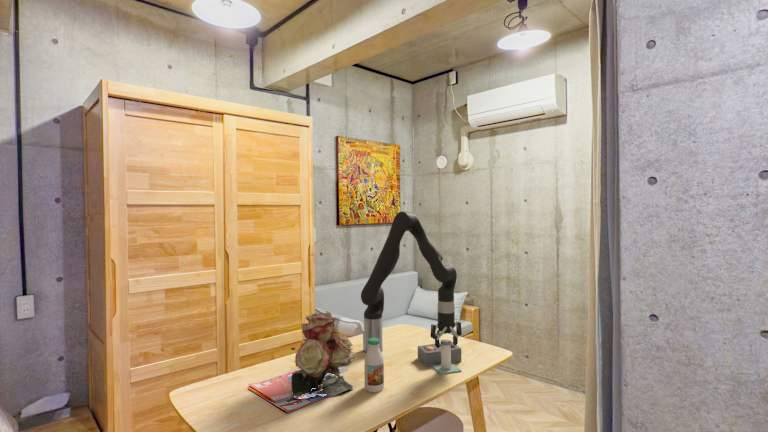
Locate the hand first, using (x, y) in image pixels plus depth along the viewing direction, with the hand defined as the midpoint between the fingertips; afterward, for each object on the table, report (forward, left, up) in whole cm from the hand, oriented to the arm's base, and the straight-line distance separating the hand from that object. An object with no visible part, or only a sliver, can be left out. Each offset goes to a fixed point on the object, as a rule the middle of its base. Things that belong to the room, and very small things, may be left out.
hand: (446, 346), depth 179 cm
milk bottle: (-36, -7, -10) cm, 38 cm away
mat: (0, 0, -10) cm, 10 cm away
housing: (+2, +11, -10) cm, 15 cm away
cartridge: (0, 0, -10) cm, 10 cm away
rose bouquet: (-55, +3, -11) cm, 56 cm away
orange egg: (-3, +11, -10) cm, 15 cm away
